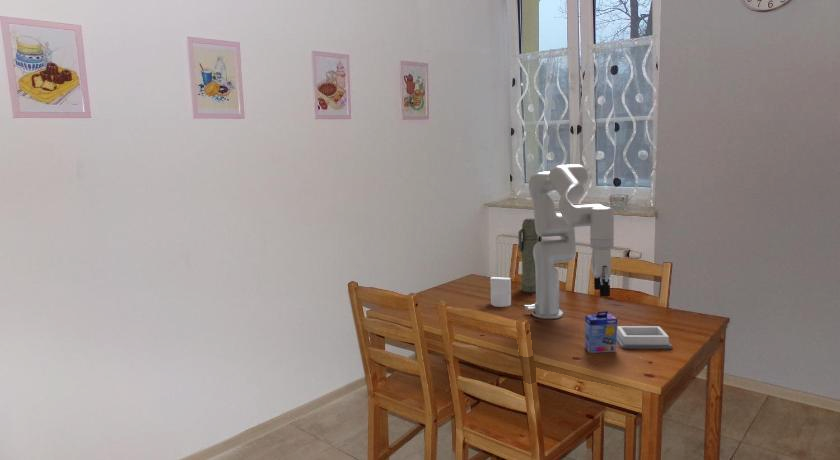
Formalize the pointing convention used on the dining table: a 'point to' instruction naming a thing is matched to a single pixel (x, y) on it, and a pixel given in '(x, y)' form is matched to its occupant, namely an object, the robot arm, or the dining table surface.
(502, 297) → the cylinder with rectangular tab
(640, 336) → the socket stand
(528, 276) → the thermos
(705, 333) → the dining table surface
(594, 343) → the ink cartridge box
